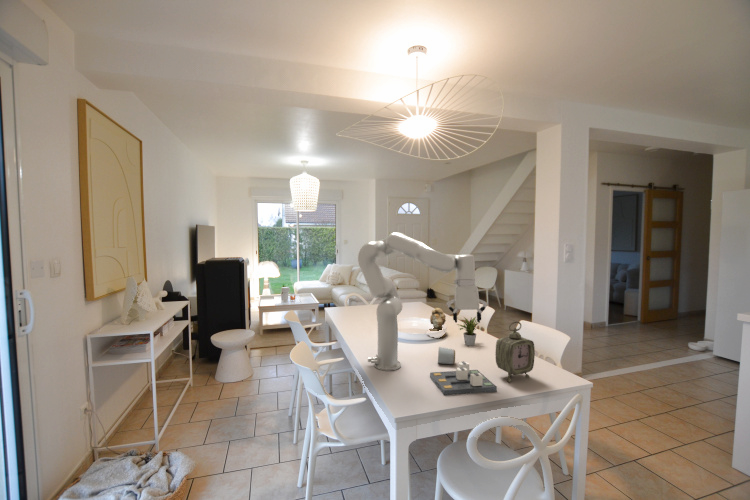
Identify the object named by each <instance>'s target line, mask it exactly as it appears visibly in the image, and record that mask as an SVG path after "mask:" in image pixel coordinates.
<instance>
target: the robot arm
mask: <svg viewBox="0 0 750 500" xmlns="http://www.w3.org/2000/svg"><path fill="white" fill-rule="evenodd" d="M394 253H398V254H401V255H403V256H406V257H408V258H410V259H412V260H413V259H414V261H417V262H419V263H421V264H422V265H425V266H426V267H429V268H431V269H433V270H436V271H439V272H442V273H450V272H452V271H456V279H455V280H454V279H453V284H456V286H455V290H454V299H450V300H449V301H447V302H446V306H447V308H448V309H449V311H451V312H452V318H453V319H452V320H453V321H454V322H455V323H457V322H458V314H457V312H458V311H459V310H460V311H461V310H464V311H465V310H466V311H468V310H469V311H470V310H471V311H472V310H476V319H477V320H476V322H477V321H478V322H477V323H478V324H480V323H481V321H482V313H483V311H485V310H486V307H487V306H488V302H487V301H485V300H483V299H480V296H479V295H480V294H479V289H478V286H477V285H476V269H475V268H476V267H475V266H476V264H475V263H476V262H475V255H473V254H468V253H467V254H465V253H464V254H453V253H449V254H448V253H447V254H445V253H442V252H440V251H438V250H435V249H433V248H431V247H429V246H428V245H426V244H425V242H422V241H420V240H417V239H415V238H412V237H410V236H408V235H406V234H405V233H403V232H399V231H396V232H395V231H394V232H391V233H390V234H388V236H387V237H385V238H383V239H379V240H371V241H367V242H365V243H364V244H363V245H362V246H361V247H360V249H359V251H358V255H357V262H358V267H359V268H360V270H361V272H362V274H363V277H364V279H365V281H366V285H367V287H368V290H369V292H370V294H371V296H372V297H373V298H375V299H380V301H381V302H380V303H379V304H378V305H377V308H376V321H377V354H376V355H375V356H373V357H367V362H368V363H371V364H373V365H374V367H375V368H376V369H378V370H380V371H386V372H388V371H396V370H398V369H400V368H401V366H402V363H401V362H400V361H399V359H398V356H399V355H398V354H399V353H398V352H399V351H398V349H399V348H398V347H399V343H398V342H399V334H398V333H399V332H398V331H399V328H398V315H399V314H401V311H402V310H403V302H402V300H401V299H402V298H401V297H400V294H399V293H398V290H397V288H396V285H395V284H394V282H393V280H392V279H391V278H390V277H388V276H384V275H383V273H382V270H381V268H380V266H379V265H378V263H377V259H381V258H384V257H386V256H389V255H391V254H394ZM452 304H454V308H453V307H452ZM480 304H482V306H481V307H480ZM457 324H458V323H457Z"/></svg>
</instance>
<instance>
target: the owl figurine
mask: <svg viewBox="0 0 750 500" xmlns="http://www.w3.org/2000/svg"><path fill="white" fill-rule="evenodd" d="M429 321H430V325H432V328H433V327H434V328H433V329H432V328H429V330H430V331H439V330H442V328H443V326H444V324H446V321H447V320H446V314H445V312H444V310H443V309H442V308H440V307H435V308H434V309H432V311H431V315H430V319H429ZM443 329H444V328H443ZM446 337H447V333H446V332H445V334H444V335H443V336H442V337H440V338H439V339H438V340H442V339H445V338H446Z"/></svg>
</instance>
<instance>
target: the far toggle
mask: <svg viewBox="0 0 750 500" xmlns="http://www.w3.org/2000/svg"><path fill="white" fill-rule="evenodd" d="M457 366H458V367H457V368H459V367H462V368H466V369H467V370H468V373H469V370H470V363H469V362H468V361H464V360H463V361H461V362H460V361H459V362H458V365H457Z"/></svg>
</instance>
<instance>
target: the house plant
mask: <svg viewBox="0 0 750 500" xmlns="http://www.w3.org/2000/svg"><path fill="white" fill-rule="evenodd" d="M463 318H464V320H465V321H464V320H462V323H463V325H462V324H458V323H457V324H456V325H457V326H458V327H460V328H459V331H461V330H465V332H463V338H464V345H465V346H467V347H473V346H475V343H476V338H477V333H475V330H477V329H478V330H479V329H480V330H482V328H480V327H479V328H476V326H477V325H479V322H478V321H477V316H474V317H470V319H468V318H466V317H465V316H463ZM458 320H459V321H461V319H458Z"/></svg>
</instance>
